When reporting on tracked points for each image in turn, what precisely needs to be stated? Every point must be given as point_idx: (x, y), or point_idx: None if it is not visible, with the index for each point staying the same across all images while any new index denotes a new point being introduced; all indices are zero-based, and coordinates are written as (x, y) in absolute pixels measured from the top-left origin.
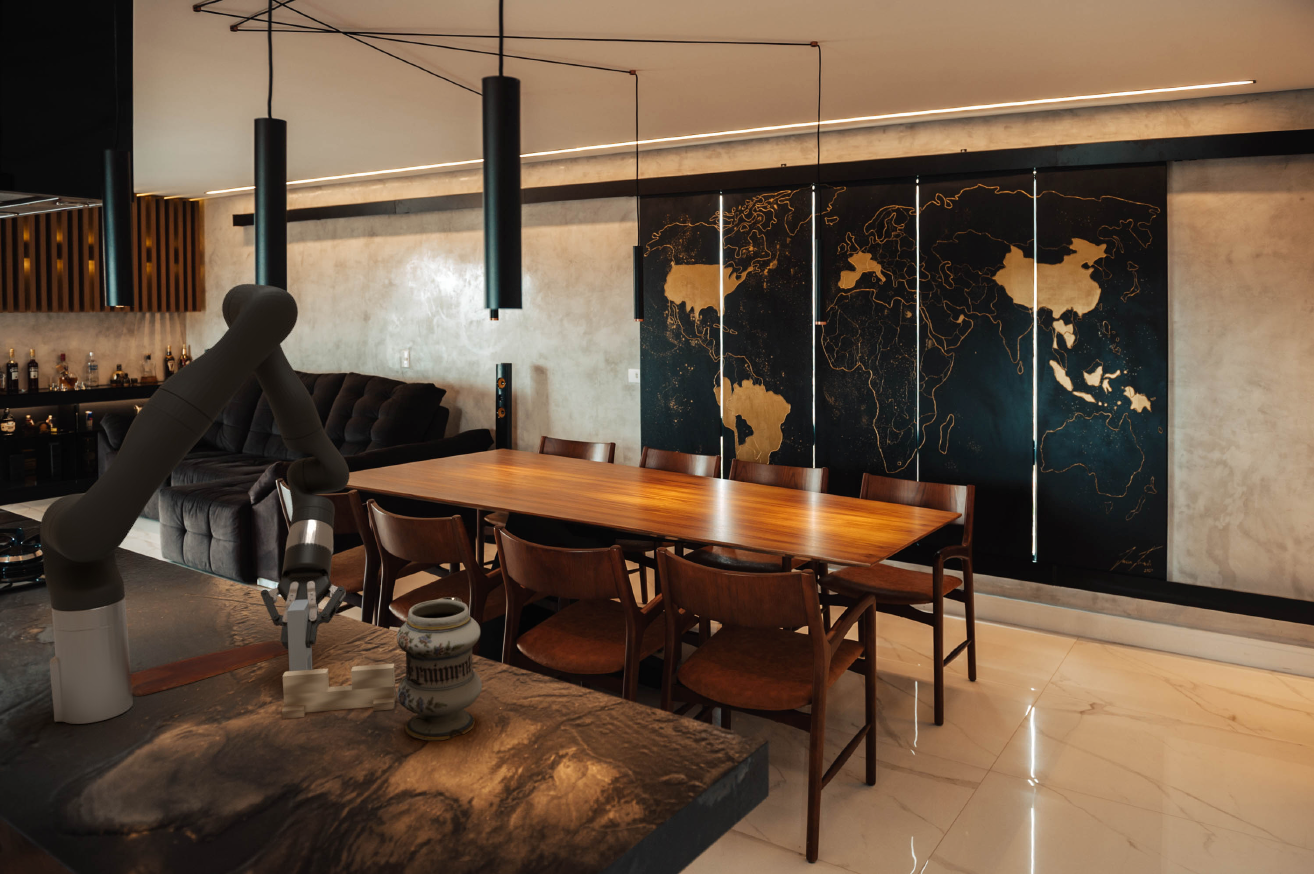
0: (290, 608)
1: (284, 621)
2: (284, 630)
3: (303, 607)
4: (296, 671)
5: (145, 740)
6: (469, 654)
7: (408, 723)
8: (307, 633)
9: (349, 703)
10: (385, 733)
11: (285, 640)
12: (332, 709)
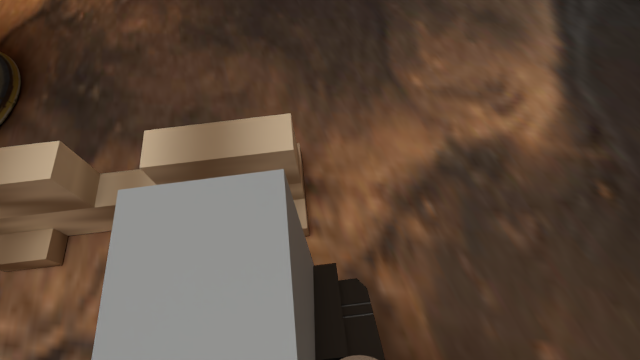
0: (266, 241)
1: (368, 357)
2: (357, 330)
3: (126, 271)
4: (251, 148)
5: (576, 77)
6: None
7: (6, 92)
8: None
9: None
10: (65, 81)
11: (330, 268)
12: None
